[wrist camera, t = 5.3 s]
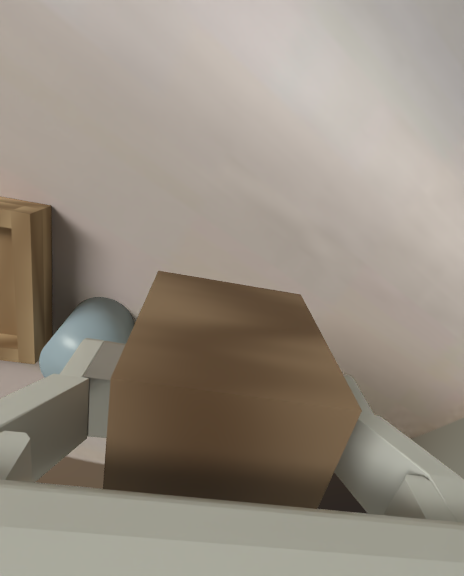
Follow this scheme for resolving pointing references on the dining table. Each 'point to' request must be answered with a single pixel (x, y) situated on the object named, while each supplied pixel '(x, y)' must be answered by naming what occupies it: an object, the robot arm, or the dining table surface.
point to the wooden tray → (25, 279)
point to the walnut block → (226, 397)
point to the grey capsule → (86, 331)
